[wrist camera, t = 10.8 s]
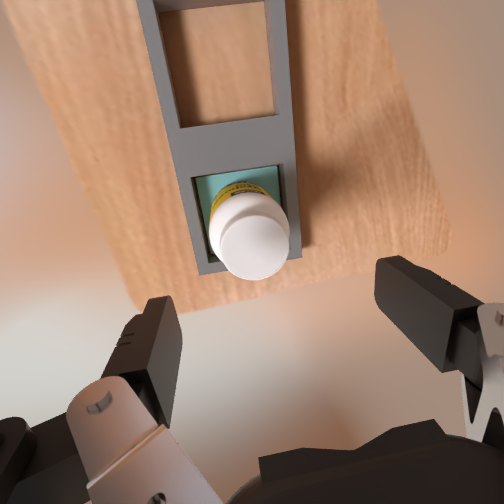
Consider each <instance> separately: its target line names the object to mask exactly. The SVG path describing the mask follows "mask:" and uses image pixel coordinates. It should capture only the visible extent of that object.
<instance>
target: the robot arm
mask: <svg viewBox="0 0 504 504" xmlns="http://www.w3.org/2000/svg"><path fill="white" fill-rule="evenodd" d="M374 296H375V300H376V303H377V305H378V307H379V308H380V310H381V311H382V312H383V313H384V314H385V315H386V316H387V317H388V318H389V319H390V320H391V321H392V322H393V323H394V324H395V325H396V326H397V327H398V328H399V329H400V330H401V331H402V332H403V333H404V334H405V335H406V336H407V337H408V339H409V340H410V341H411V342H412V343H413V344H414V345H415V346H416V347H417V348H418V349H419V350H420V351H421V352H422V353H423V354H424V355H425V356H426V357H427V358H428V359H429V360H430V361H431V362H432V363H433V364H434V365H435V366H436V367H437V368H438V370H439V371H441V372H442V373H444V372H449V371H454V370H459V371H461V372H462V377H461V391H462V400H463V408H464V417H465V426H466V438H465V437H461V436H455V435H448V434H445V432H444V431H443V430H442V429H441V427H440V426H439V425H438V423H437V422H436V421H435V420H434V419H431V420H427V421H422V422H418V423H413V424H408V425H404V426H400V427H395V428H392V429H390V430H388V431H386V432H385V433H383V434H381V435H380V436H378V437H376V438H375V439H373V440H371V441H369V442H368V443H366V444H364V445H363V446H361V447H359V448H357V449H355V450H332V449H316V448H299V449H295V450H290V451H286V452H281V453H277V454H272V455H268V456H263V457H259V458H258V459H259V466H260V473H261V474H259V475H257V476H256V477H254V478H252V479H251V480H249V482H247V483H246V484H245V485H243V486H242V487H241V488H240V489H239V490H238V491H237V492H235V494H233V496H232V497H231V498H230V499H229V500H228V502H227V503H226V504H504V304H503V303H487V304H485V303H483V302H481V301H480V300H478V299H476V298H475V297H473V296H471V295H470V294H468V293H467V292H465V291H463V290H462V289H460V288H458V287H457V286H455V285H451V283H450V282H449V281H447V280H445V279H442V278H441V277H440V276H439V275H437V274H435V273H434V272H432V271H431V270H428V269H425V268H422V267H419V266H416V265H414V264H413V263H411V262H409V261H408V260H406V259H405V258H403V257H402V256H399V255H397V256H392V257H386V258H380V259H378V260H377V262H376V272H375V291H374ZM116 345H117V347H115V349H114V351H113V353H112V355H111V357H110V359H109V361H108V363H107V365H106V367H105V370H104V372H103V374H102V376H101V378H100V379H99V380H97V381H95V382H93V383H91V384H90V385H88V386H87V387H85V388H84V389H83V390H82V391H80V392H79V393H78V394H77V395H76V396H75V397H74V399H73V400H72V402H71V403H70V404H69V406H68V409H67V412H65V413H63V414H61V415H59V416H56V417H54V418H52V419H50V420H48V421H45V422H43V423H41V424H39V425H36V426H34V427H32V428H30V427H29V426H28V424H27V423H26V421H25V420H24V419H23V418H20V417H10V418H6V419H2V420H0V504H84V503H86V502H88V501H90V500H91V502H92V504H223V502H222V501H221V500H220V498H219V497H218V496H217V494H216V493H215V492H214V490H213V489H212V488H211V486H210V485H209V484H208V482H207V481H206V480H205V478H204V477H203V476H202V474H201V473H200V472H199V470H198V469H197V468H196V466H195V465H194V464H193V462H192V461H191V460H190V458H189V457H188V456H187V454H186V453H185V452H184V450H183V449H182V448H181V446H180V445H179V444H178V442H177V441H176V440H175V439H174V437H173V436H172V434H171V433H170V432H169V430H168V429H169V428H170V422H171V415H172V409H173V402H174V395H175V389H176V382H177V376H178V370H179V363H180V357H181V350H182V332H181V328H180V324H179V321H178V318H177V314H176V310H175V307H174V303H173V300H172V298H171V296H163V297H157V298H152V299H149V300H148V302H147V304H146V307H145V309H144V312H143V314H138V315H135V316H134V317H133V318H132V319H131V320H130V321H129V322H128V323H127V324H126V325H125V328H124V330H123V332H122V334H121V338H119V340H118V342H117V344H116Z"/></svg>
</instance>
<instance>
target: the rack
mask: <svg viewBox="0 0 504 504" xmlns="http://www.w3.org/2000/svg"><path fill="white" fill-rule="evenodd" d="M136 1H137V6H138V10H139V15H140V19H141V23H142V28H143V32H144V36H145V41H146V45H147V49H148V54H149V58H150V62H151V67H152V71H153V75H154V80H155V84H156V88H157V93H158V97H159V102H160V106H161V110H162V115H163V119H164V123H165V128H166V132H167V136H168V141H169V145H170V149H171V154H172V158H173V162H174V167H175V171H176V175H177V180H178V184H179V189H180V193H181V197H182V202H183V206H184V210H185V215H186V219H187V223H188V228H189V232H190V236H191V241H192V245H193V249H194V254H195V258H196V262H197V267H198V271H199V275H205V274H211V273H216V272H222V271H228V269H227V268H226V266H225V265H224V263H223V262H222V261H221V260H220V259H219V258H218V257H217V255H211V256H209V254H208V249H207V245H206V240H205V235H204V230H203V225H202V221H201V216H200V211H199V206H198V202H197V197H196V192H195V187H194V182H193V178H192V177H195V176H201V175H208V174H215V173H221V172H228V171H235V170H241V169H248V168H255V167H261V166H268V165H275V164H279V169H280V180H281V191H282V202H283V211H284V213H285V215H286V217H287V220H288V223H289V230H290V233H289V254H288V257H287V259H286V260H291V259H297V258H302V245H301V230H300V216H299V201H298V186H297V172H296V157H295V143H294V128H293V113H292V99H291V84H290V69H289V55H288V40H287V26H286V11H285V0H136ZM257 1H264V4H265V15H266V26H267V37H268V48H269V59H270V70H271V81H272V92H273V103H274V114H275V116H268V117H260V118H253V119H246V120H239V121H232V122H224V123H217V124H210V125H203V126H195V127H188V128H182V125H181V120H180V115H179V111H178V106H177V101H176V96H175V91H174V87H173V82H172V77H171V72H170V68H169V63H168V58H167V53H166V48H165V44H164V39H163V34H162V29H161V24H160V20H159V15H158V12H166V11H175V10H184V9H193V8H202V7H211V6H221V5H230V4H239V3H248V2H257ZM195 179H196V184H197V189H198V194H199V198H200V203H201V208H202V213H203V218H204V223H205V228H206V233H207V237H208V242H209V247H210V252H211V254H215V252H214V251H213V249H212V246H211V243H210V239H209V224H210V215H211V207H212V203H213V200H214V198H215V196H216V195H217V193H218V192H219V191H220V190H221V189H222V188H223V187H224V186H226V185H228V184H230V183H232V182H236V181H248V182H252V183H255V184H257V185H259V186H260V187H261V188H263V189H264V190H265V191H266V192H267V193H268V194H269V195H270V196H271V197H272V198H273V199H274V200H275V201H276V202H277V203H278V204H279V206H280V207H281V203H280V192H279V182H278V171H277V165H275V166H268V167H261V168H255V169H248V170H241V171H235V172H228V173H221V174H215V175H208V176H201V177H195Z"/></svg>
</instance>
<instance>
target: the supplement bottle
mask: <svg viewBox="0 0 504 504" xmlns="http://www.w3.org/2000/svg"><path fill="white" fill-rule="evenodd" d="M289 233H290V230H289V223H288V220H287V217H286V215H285V213H284V211H283V210H282V208H281V207H280V206H279V204H278V203H277V202H276V201H275V200H274V199H273V198H272V197H271V196H270V195H269V194H268V193H267V192H266V191H265V190H264V189H263V188H261V187H260V186H259V185H257V184H255V183H252V182H248V181H236V182H232V183H230V184H228V185H226V186H224V187H223V188H222V189H221V190H220V191H219V192H218V193H217V195H216V196H215V198H214V200H213V203H212V207H211V215H210V224H209V239H210V243H211V246H212V249H213V251H214V252H215V254H216V255H217V257H218V258H219V259H220V260H221V261H222V262H223V263H224V265H225V266H226V268H227V269H228V270H229V271H230V272H231V273H232V274H234V275H236V276H237V277H239V278H242V279H246V280H261V279H265V278H267V277H270V276H272V275H273V274H275V273H276V272H277V271H278V270H279V269H280V268H281V267H282V266H283V265H284V263H285V261H286V259H287V257H288V254H289Z"/></svg>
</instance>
